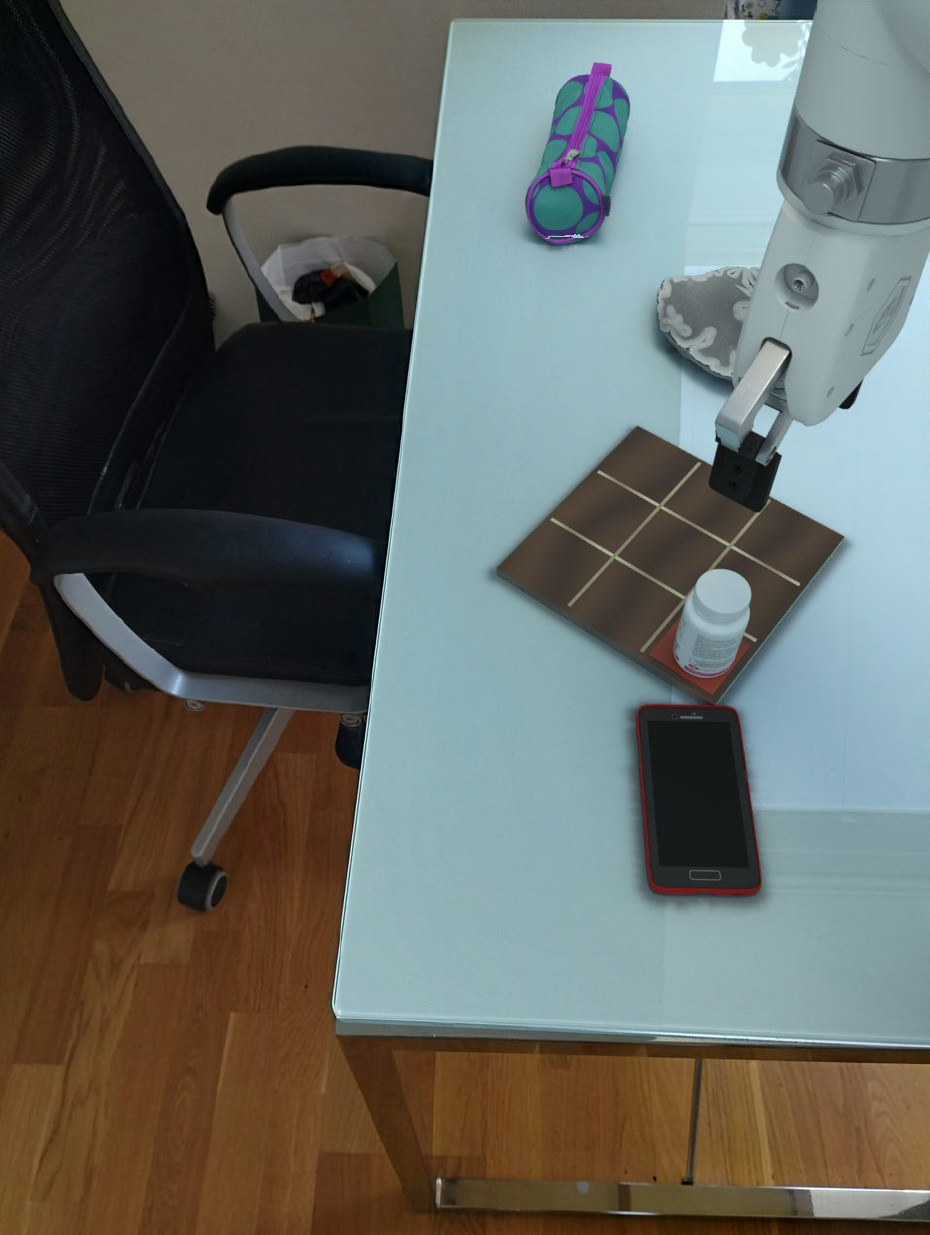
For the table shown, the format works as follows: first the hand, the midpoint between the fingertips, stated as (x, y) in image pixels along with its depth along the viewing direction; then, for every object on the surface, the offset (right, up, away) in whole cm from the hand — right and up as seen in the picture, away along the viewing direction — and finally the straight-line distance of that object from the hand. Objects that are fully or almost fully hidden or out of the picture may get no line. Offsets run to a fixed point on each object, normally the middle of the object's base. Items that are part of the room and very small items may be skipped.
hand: (782, 445), depth 58 cm
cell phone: (-1, -23, +19) cm, 30 cm away
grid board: (0, -5, +32) cm, 32 cm away
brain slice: (+11, +17, +47) cm, 51 cm away
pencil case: (-5, +38, +61) cm, 72 cm away
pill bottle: (+1, -12, +25) cm, 28 cm away
